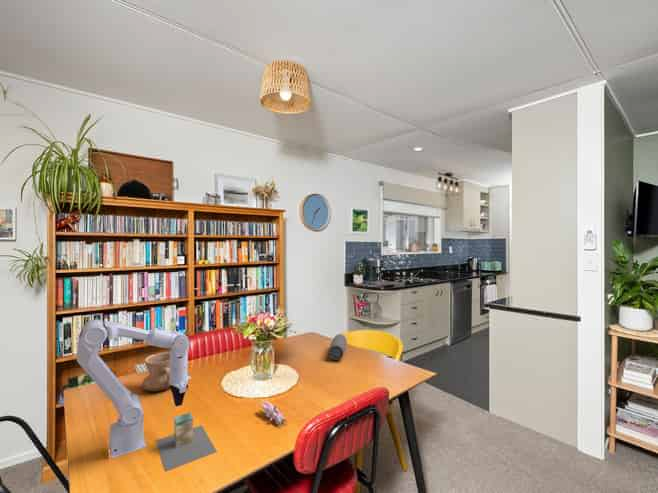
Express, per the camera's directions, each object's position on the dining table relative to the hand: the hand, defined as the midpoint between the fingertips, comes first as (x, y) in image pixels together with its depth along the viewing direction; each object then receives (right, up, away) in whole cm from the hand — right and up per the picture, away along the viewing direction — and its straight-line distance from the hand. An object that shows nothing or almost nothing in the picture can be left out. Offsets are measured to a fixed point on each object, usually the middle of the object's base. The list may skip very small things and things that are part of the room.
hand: (178, 405), depth 112 cm
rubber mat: (+7, -10, -9) cm, 14 cm away
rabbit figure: (+32, -10, +9) cm, 35 cm away
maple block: (+5, -9, -6) cm, 12 cm away
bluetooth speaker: (+59, -10, +78) cm, 99 cm away
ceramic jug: (-24, -9, +33) cm, 42 cm away
